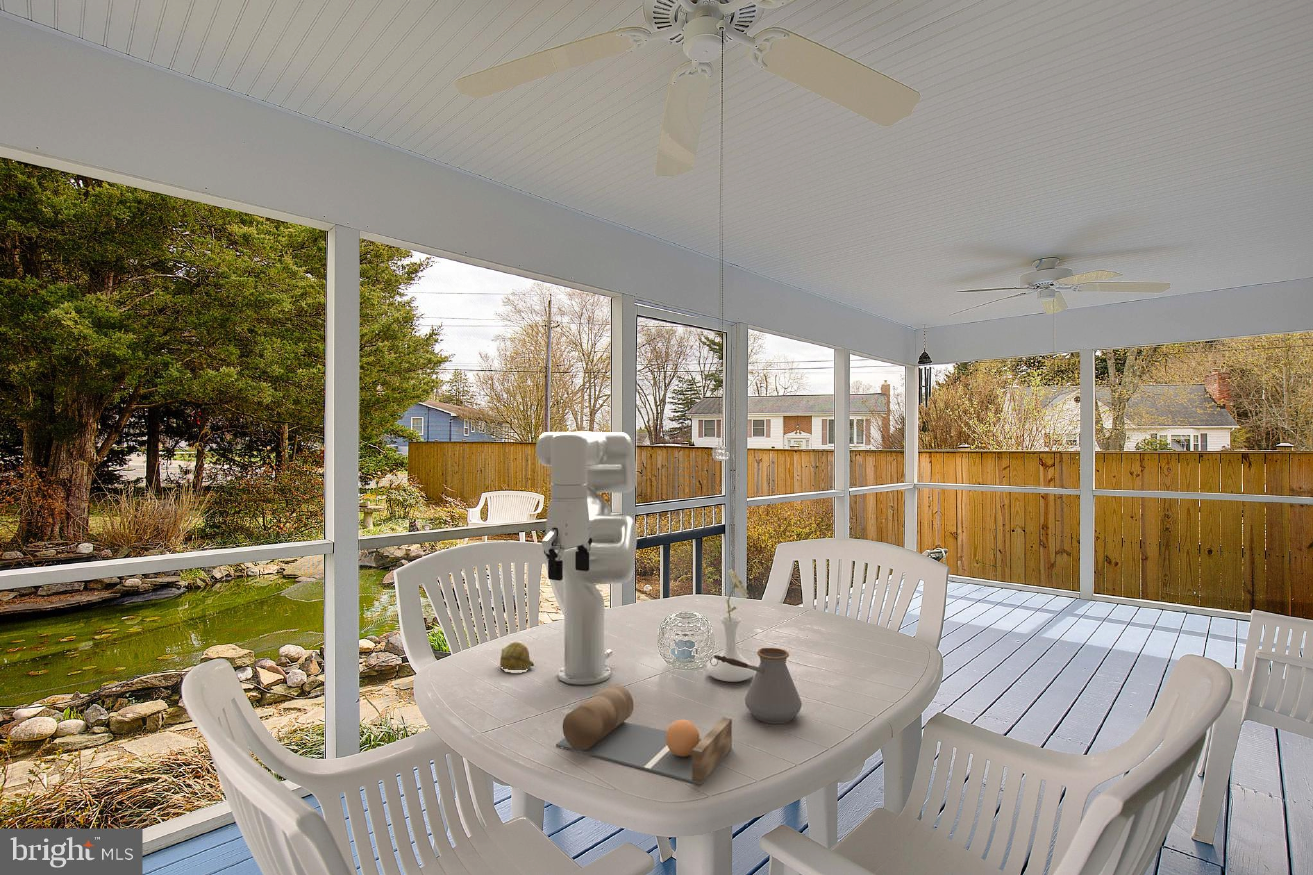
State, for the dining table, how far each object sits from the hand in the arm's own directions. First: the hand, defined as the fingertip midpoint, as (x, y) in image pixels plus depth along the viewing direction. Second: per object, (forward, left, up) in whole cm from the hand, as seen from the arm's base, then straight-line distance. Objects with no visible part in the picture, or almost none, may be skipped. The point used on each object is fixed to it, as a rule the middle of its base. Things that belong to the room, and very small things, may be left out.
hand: (569, 574), depth 135 cm
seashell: (-15, -26, -29) cm, 41 cm away
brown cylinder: (+7, +12, -28) cm, 31 cm away
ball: (+7, +29, -25) cm, 39 cm away
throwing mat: (+7, +21, -28) cm, 36 cm away
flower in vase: (-34, +23, -28) cm, 50 cm away
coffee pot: (-13, +36, -28) cm, 48 cm away
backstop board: (+7, +35, -28) cm, 45 cm away
